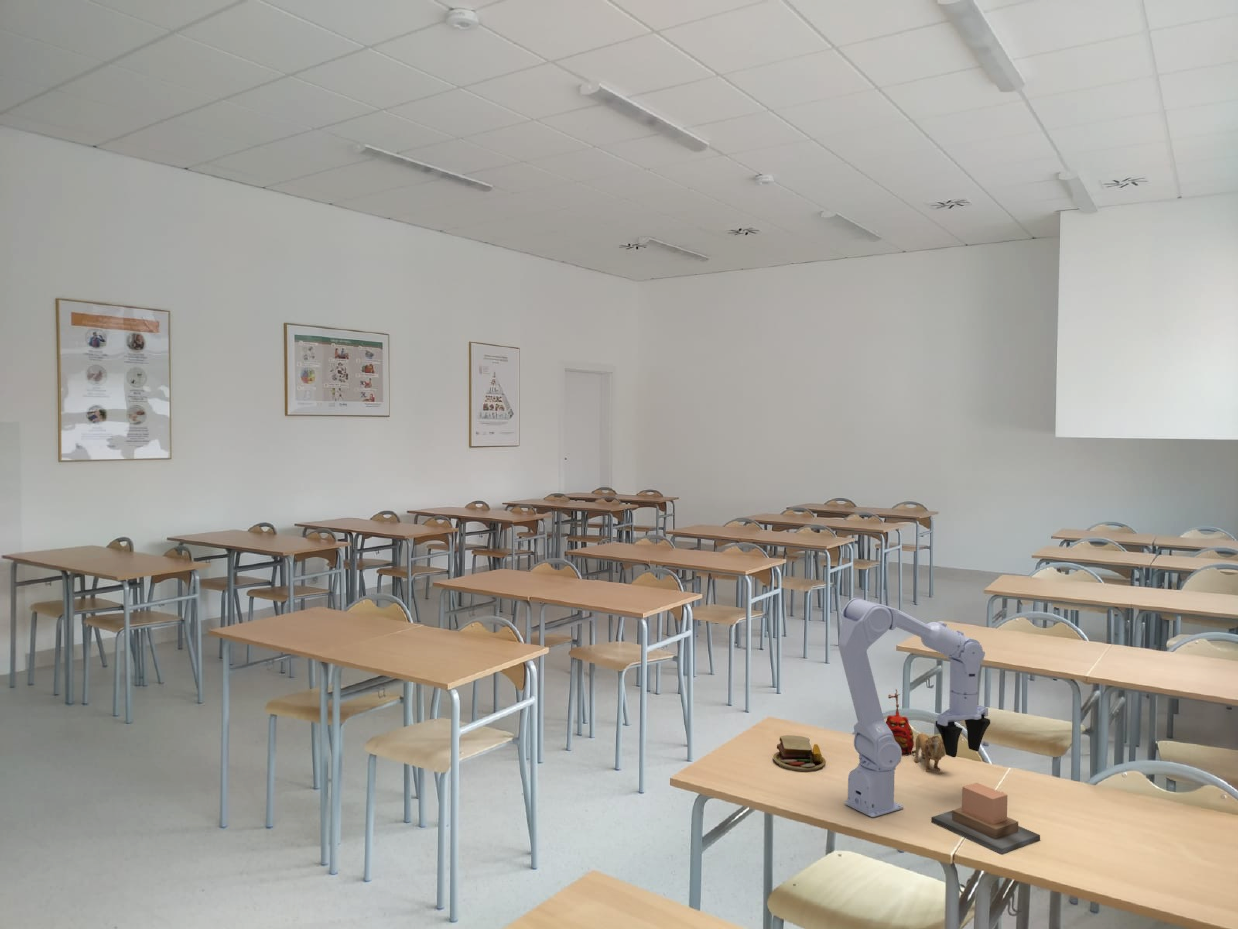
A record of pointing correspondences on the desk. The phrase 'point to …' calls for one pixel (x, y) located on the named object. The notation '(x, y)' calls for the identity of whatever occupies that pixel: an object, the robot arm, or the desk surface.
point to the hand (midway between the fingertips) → (962, 753)
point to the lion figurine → (929, 750)
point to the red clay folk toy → (901, 729)
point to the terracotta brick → (984, 803)
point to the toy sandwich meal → (798, 754)
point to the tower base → (987, 840)
